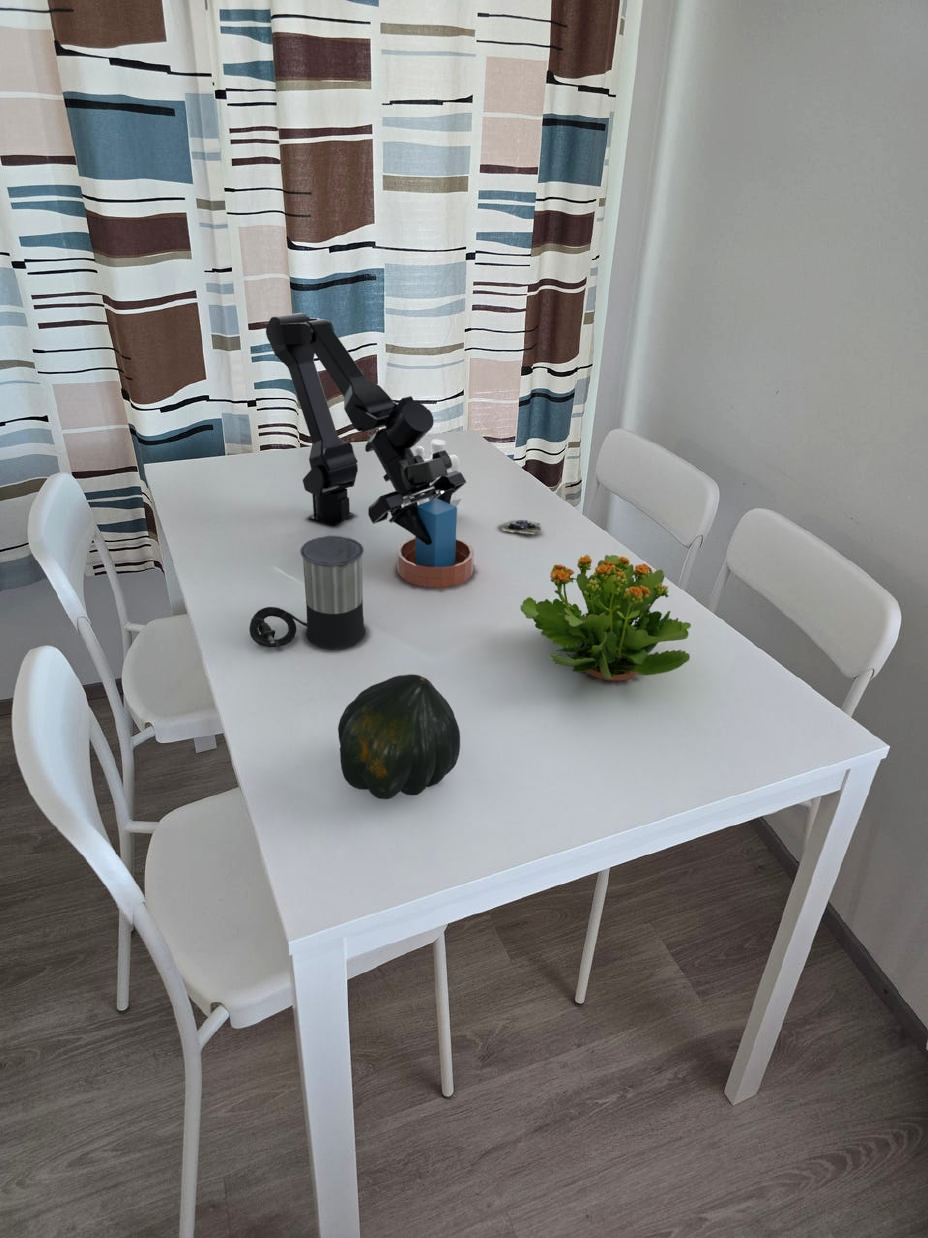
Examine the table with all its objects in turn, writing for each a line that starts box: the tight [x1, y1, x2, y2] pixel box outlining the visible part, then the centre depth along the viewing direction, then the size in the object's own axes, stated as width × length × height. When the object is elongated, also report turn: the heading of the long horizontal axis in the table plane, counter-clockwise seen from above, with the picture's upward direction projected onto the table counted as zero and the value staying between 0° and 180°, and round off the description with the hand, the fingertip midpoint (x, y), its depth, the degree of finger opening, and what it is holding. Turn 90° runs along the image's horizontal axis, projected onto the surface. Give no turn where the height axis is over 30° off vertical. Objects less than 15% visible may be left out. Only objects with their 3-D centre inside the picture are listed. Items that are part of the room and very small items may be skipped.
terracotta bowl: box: [396, 536, 475, 589], centre depth 151 cm, size 13×13×4 cm
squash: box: [337, 673, 461, 800], centre depth 102 cm, size 14×15×15 cm
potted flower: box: [520, 554, 692, 682], centre depth 123 cm, size 25×24×18 cm
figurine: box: [414, 438, 462, 508], centre depth 170 cm, size 7×9×15 cm
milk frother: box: [248, 535, 367, 650], centre depth 128 cm, size 14×16×15 cm
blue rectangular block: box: [414, 498, 458, 567], centre depth 148 cm, size 5×5×12 cm
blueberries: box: [500, 519, 542, 536], centre depth 167 cm, size 7×8×2 cm
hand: (441, 539), depth 147 cm, fingers closed on blue rectangular block, 5 cm apart
